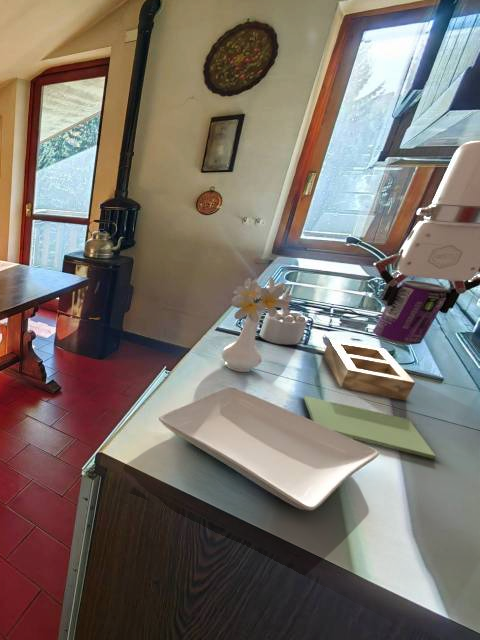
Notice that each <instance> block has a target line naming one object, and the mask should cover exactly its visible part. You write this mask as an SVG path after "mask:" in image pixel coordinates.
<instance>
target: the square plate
mask: <svg viewBox="0 0 480 640" xmlns="http://www.w3.org/2000/svg"><path fill="white" fill-rule="evenodd" d="M158 421H159V422H160V423H161V424H162V425H163V426H164V427H165V428H166V429H167V430H169V431H171V432H172V433H173V434H175V435H176V436H178V437H180V438H182V439H183V440H185V441H186V442H188V443H190V444H192V445H193V446H194V447H197V448H198V449H200V450H202V451H203V452H205V454H208V455H209V456H211V457H213V458H214V459H216V460H217V461H219V462H221V463H223V464H225V465H226V466H227V467H229V468H230V469H233V470H234V471H235V472H237V473H238V474H241V476H244V477H245V478H246V479H248V480H250V481H251V482H252V483H254V484H256V485H257V486H259V487H260V488H261V489H264V490H265V491H266V492H269V493H270V494H272V495H274V496H276V497H278V498H279V499H280V500H282V501H284V502H286V503H287V504H289V505H291V506H293V507H294V508H297V509H299V510H303V511H309V512H312V511H314V510H315V509H317V508H318V507H319V506H321V505H322V504H323V503H324V502H325V501H326V500H327V499H328V498H329V497H330V496H331V495H332V494H333V493H334V492H335V491H336V490H337V489H338V487H340V486H341V485H342V484H343V483H344V482H346V480H347V479H349V478H350V477H351V476H352V475H354V474H356V472H358V471H359V470H361V469H362V468H363V467H365V466H367V465H368V464H369V463H371V462H373V461H374V460H375V459H377V457H378V456H379V454H380V452H379V451H378V450H376V449H375V448H372V447H370V446H368V445H367V444H364V443H361V442H359V441H358V440H356V439H353V438H349V437H346V436H344V435H342V434H340V433H338V432H336V431H334V430H331V429H329V428H327V427H325V426H323V425H320V424H318V423H316V422H314V421H312V420H311V419H309V418H307V417H305V416H303V415H301V414H298V413H295V412H294V411H291V410H289V409H287V408H284V407H282V406H280V405H277V404H275V403H273V402H271V401H268V400H266V399H263V398H261V397H259V396H256V395H253V394H252V393H249V392H246V391H244V390H242V389H240V388H237V387H235V386H231V385H228V386H226V387H223V388H220V389H218V390H216V391H213V392H211V393H209V394H207V395H205V396H203V397H200V398H199V399H196V400H193V401H191V402H189V403H186V404H184V405H182V406H180V407H177V408H175V409H173V410H171V411H168V412H167V413H165V414H162V415H161V416H159V417H158Z"/></svg>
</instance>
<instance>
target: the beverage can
mask: <svg viewBox="0 0 480 640" xmlns="http://www.w3.org/2000/svg"><path fill="white" fill-rule="evenodd" d="M397 287H399V290H398V292H397V294H396V297H395V299H394V301H393V303H392V305H391V306H386V305H385V306H384V309H383V311H382V313H381V315H380V317H379V318H378V320H377V323H376V324H375V326H374V329H373V330H372V332H373V334H374V335H376V336H377V337H378V338H379V339H381V340H383V341H385V342H388V343H391V344H395V345H403V346H411V345H419V344H422V342H423V340H424V338H425V337H426V335H427V333H428V331H429V330H430V328H431V326H432V324H433V322H434V321H435V319H436V318H437V316H438V314H439V312H440V311H439V310H440V309H441V307H442V305H443V304H444V302H445V300H446V291H447V290H448V289H449V287H446V286H444V285H441V284H437V283H432V282H426V281H420V280H412V279H411V280H409V279H404V280H403V281H401V283H400V284H398V286H397Z"/></svg>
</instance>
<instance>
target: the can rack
mask: <svg viewBox="0 0 480 640" xmlns="http://www.w3.org/2000/svg"><path fill="white" fill-rule="evenodd" d="M323 358H324V360H325V361H326V363H327V364H328V366H329V368H330V371H331V372H332V373H333V375H334V378H335V380H336V381H337V383H338V385H339V387H340V388H343V389H349V390H353V391H358V392H363V393H368V394H373V395H378V396H382V397H386V398H391V399H392V398H393V399H397V400H402V401H407V399H408V398H409V395H410V394H411V392H412V389H413V388H414V386H415V384H416V382H415V381H414V379H413V378H412V377H411V376H410V375H409V374H408V373H407V372H406V371H405V369H404V368H403V367H402V366H401V365H400V364H399V363H398V362H397V361H396V359H395V358H393V356H392V355H391V353H389V351H388V350H386V349H385V348H383V347H382V348H381V347H375V346H369V345H364V344H357V343H351V342H346V341H340V340H333V339H329V340H328V342H327V344H326V347H325V349H324V352H323Z"/></svg>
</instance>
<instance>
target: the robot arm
mask: <svg viewBox="0 0 480 640" xmlns="http://www.w3.org/2000/svg"><path fill="white" fill-rule="evenodd" d="M416 216H422V217H423V220H419V221H418V222H417V223H416V225H415V226H414V227H413V229H412V230H411V232H410V233H409V234H408V236H407V238H406V239H405V241H404V242H403V244H402V245H401V247H400V248H399V251H398V252H397V253H394V254H392V255H390V256H387V257H385V258H382V259H380V260H378V261H374V262H373V264H372V265H373V267H374V269H375V270H376V272H377V273H378V275H379V277H380V278H381V279H382V280H383V282H384V283H385V286H384V288H383V290H382V293H381V295H380V296H379V297H380V298H379V299H380V301H381V303H382V304H383V305H384V306H385V307H386V306H391V305H392V303H393V301H394V299H395V297H396V294H397V292H398V290H399V287H398V286H399V285H400V284H401V283H402V281H404V280H406V279H407V278H408V277H414V278H422V279H423V278H424V279H433V280H444V281H447V283H448V286H449V287H448V290H447V291H446V300H445V302H444V304H443V305H442V307H441V309H440V310H439V312H440V313H442V314H447V313H449V310H451V309H453V308H454V307H455V305H456V303H457V301H458V299H459V297H460V295H462V294H464V293H466V292H467V291H470V290H472V289H474V288H477V287H479V286H480V140H474V141H468V142H465V143H463V144H461V145H460V146H458V148H457V149H456V150H455V152H454V153H453V156H452V158H451V160H450V162H449V164H448V167H447V169H446V171H445V173H444V175H443V178H442V180H441V182H440V184H439V187H438V189H437V191H436V194H435V196H434V198H433V199H432V201H431V203H430V204H429V205H428V206H425V207H419V208H418V209H417V210H416ZM390 265H392V268H393V270H395V271H394V272H392V273H391V272H389V271H388V269H387V267H388V266H390Z"/></svg>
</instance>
